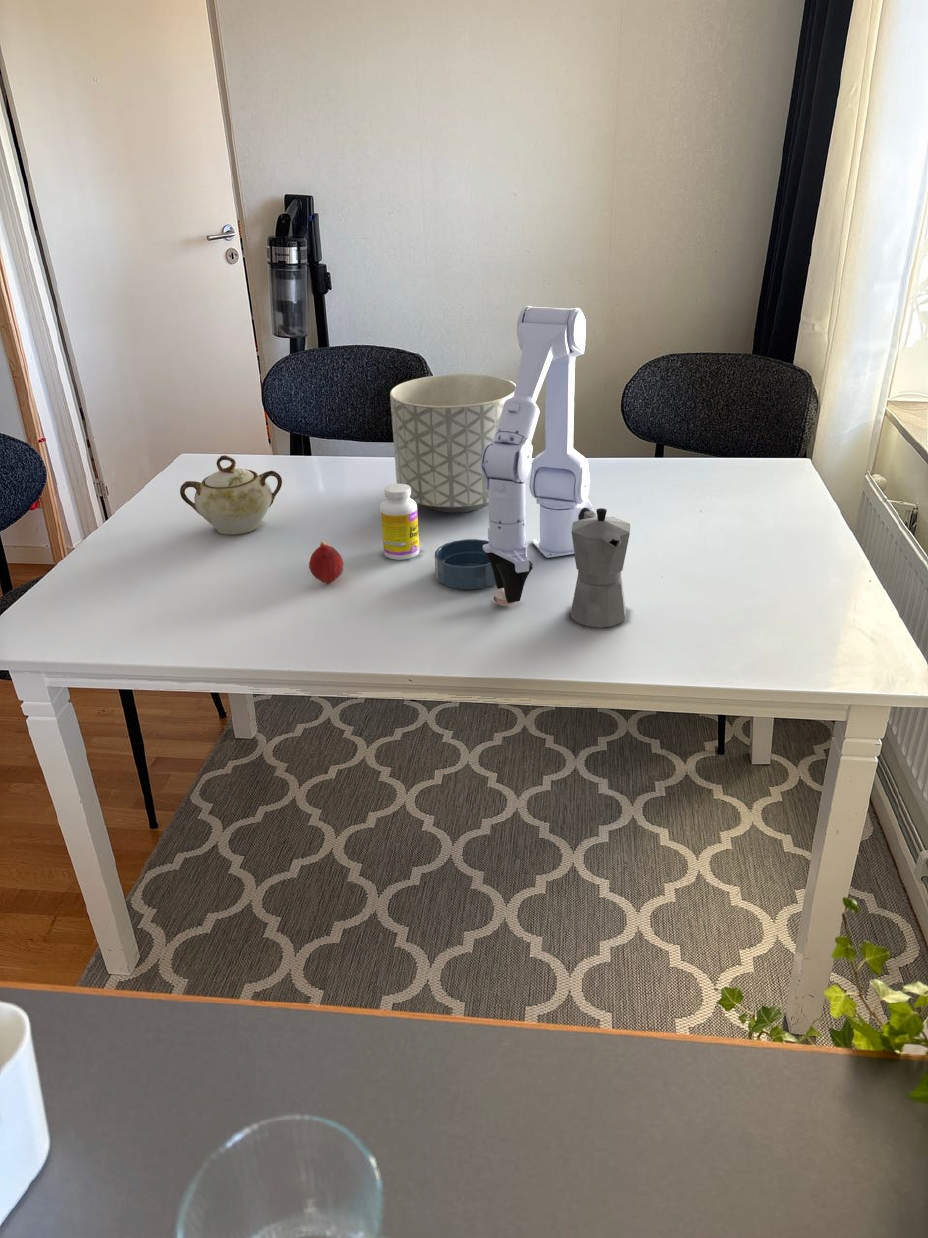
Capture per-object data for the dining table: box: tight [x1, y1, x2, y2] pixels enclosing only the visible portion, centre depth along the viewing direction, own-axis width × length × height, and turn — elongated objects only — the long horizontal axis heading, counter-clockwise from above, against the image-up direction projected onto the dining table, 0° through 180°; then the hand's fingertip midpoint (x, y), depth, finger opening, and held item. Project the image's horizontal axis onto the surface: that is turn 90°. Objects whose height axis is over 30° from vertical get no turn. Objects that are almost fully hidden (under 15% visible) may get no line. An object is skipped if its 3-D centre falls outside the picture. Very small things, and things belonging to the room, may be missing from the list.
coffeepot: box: [570, 507, 631, 629], centre depth 147 cm, size 15×9×18 cm, turn 13°
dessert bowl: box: [434, 538, 496, 590], centre depth 164 cm, size 12×12×4 cm
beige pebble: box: [492, 588, 516, 607], centre depth 155 cm, size 4×5×2 cm
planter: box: [389, 373, 516, 514], centre depth 191 cm, size 25×25×24 cm
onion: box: [308, 540, 344, 585], centre depth 162 cm, size 6×6×8 cm
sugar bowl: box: [179, 454, 283, 536], centre depth 186 cm, size 20×15×15 cm
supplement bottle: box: [379, 483, 420, 561], centre depth 172 cm, size 7×7×13 cm
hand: (508, 595), depth 155 cm, fingers closed on beige pebble, 4 cm apart
